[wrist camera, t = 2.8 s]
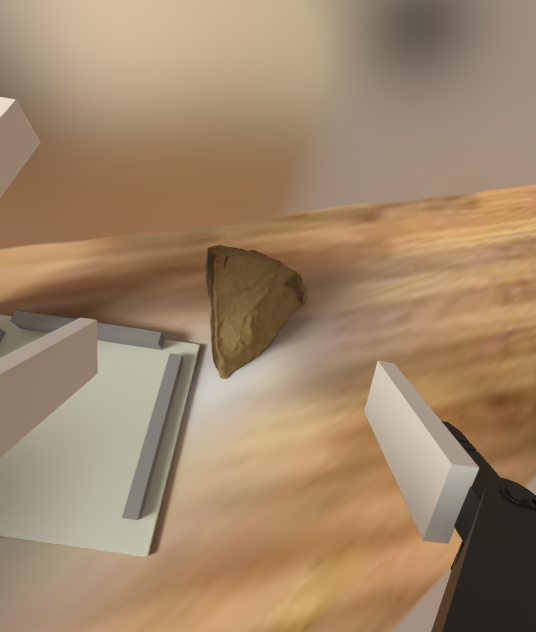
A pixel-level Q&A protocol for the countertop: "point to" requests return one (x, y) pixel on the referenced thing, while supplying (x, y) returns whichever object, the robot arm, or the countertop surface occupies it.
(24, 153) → the shelf unit
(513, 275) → the countertop surface
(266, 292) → the rock
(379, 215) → the countertop surface
